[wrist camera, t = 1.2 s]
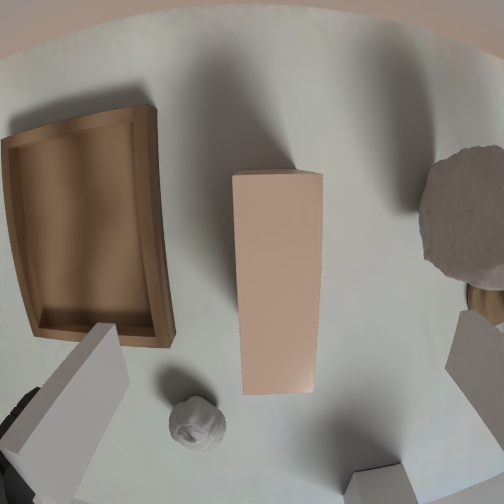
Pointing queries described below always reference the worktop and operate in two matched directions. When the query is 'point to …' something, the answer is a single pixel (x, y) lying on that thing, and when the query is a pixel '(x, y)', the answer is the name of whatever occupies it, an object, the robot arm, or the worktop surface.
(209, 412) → the garlic
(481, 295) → the candle holder
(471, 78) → the worktop surface
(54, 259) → the tray
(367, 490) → the milk carton
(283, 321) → the tan rectangular block
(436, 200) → the stone tool
